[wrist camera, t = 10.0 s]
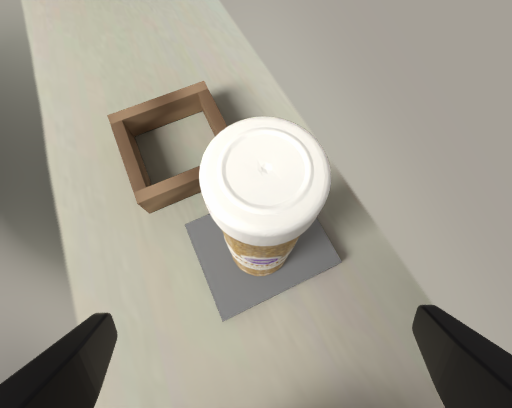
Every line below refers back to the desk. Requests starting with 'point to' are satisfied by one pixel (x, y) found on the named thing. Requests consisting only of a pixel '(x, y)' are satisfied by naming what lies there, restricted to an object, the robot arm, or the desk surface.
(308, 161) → the sprinkles bottle
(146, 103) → the collar
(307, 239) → the pad
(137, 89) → the desk surface
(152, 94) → the desk surface
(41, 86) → the desk surface
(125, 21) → the desk surface
